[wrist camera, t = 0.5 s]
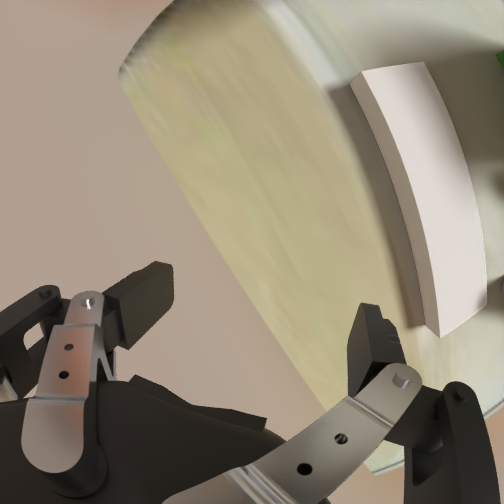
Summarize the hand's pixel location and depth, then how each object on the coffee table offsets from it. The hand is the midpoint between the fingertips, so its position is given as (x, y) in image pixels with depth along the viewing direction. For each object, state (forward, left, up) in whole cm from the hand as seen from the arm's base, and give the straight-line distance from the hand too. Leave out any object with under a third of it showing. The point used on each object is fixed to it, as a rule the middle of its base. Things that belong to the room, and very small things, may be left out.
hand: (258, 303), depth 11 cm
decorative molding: (-5, +17, -25) cm, 30 cm away
